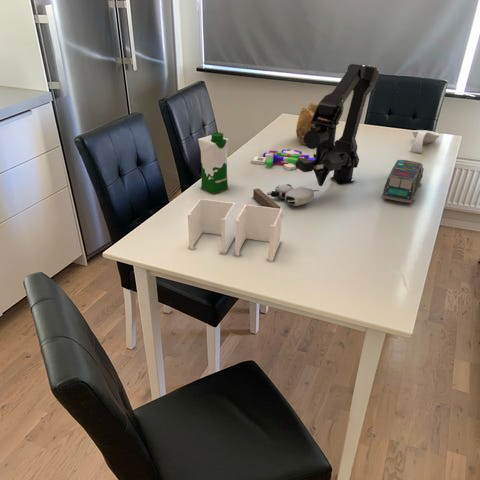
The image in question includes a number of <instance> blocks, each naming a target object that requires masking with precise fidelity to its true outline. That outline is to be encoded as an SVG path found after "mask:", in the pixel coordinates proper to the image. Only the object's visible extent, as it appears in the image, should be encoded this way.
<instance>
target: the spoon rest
mask: <svg viewBox="0 0 480 480" xmlns="http://www.w3.org/2000/svg"><path fill="white" fill-rule="evenodd" d="M412 135H413V138H414V140H413V142H412V145H411V147H410V151H409V152H411V153H417V154H421V153H422V152H423V151H422V150H423V145H424V144H426V145H427V144H431V143H433V142H435V141H437V140H438V139H439V137H440V133H438V132H437V131H432V130H427V129H426V130H424V129H416V130H413V131H412Z"/></svg>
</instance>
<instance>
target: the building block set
mask: <svg viewBox="0 0 480 480" xmlns="http://www.w3.org/2000/svg"><path fill="white" fill-rule="evenodd" d="M301 158H308V159H310V160H311V161H312V160H315V158H313V157H310V154H306V153H303V151H301V150H299V149H294V150H291V149H289V148H288V149H287V148H286V149H282V150H281V151H278V150H269V151H268V152H264V153H263V154H262V156H257V155H255V156H254V157H253V159H251V163H252V164H257V165H266V166H265V168H266V169H271V168H272V166H273V165H279V166H283V168H284V169H285V170H287V171H293V170H296V169H297V167H296V161H297V160H298V159H301Z"/></svg>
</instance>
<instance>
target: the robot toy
mask: <svg viewBox="0 0 480 480" xmlns="http://www.w3.org/2000/svg"><path fill="white" fill-rule="evenodd" d="M319 191H320V190H319V189H317V190H316V189H313V188H310V187H305V186H298V187H295V188H294V187H293V186H292V185H291V184H289V183H287V184H282V185H278V186H275V189H274V190H271V191H268V192H266V195H267V196H270V197H272V198H277V197H278V198H279V199H281V200H283V199H284V201H285V203H286V204H290V205H291V206H293V207H299V206H302V205H305V204H308V203H310V202H311V201H312V200H313V199H314V198H315V192H319Z"/></svg>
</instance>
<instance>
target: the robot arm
mask: <svg viewBox="0 0 480 480" xmlns="http://www.w3.org/2000/svg"><path fill="white" fill-rule="evenodd" d="M379 76H380V71H379V70H378V67H377V66H374V65H373V66H372V65H366V64H359V63H350V64H349V65H348V67H347V69H346V72H345V73H344V75H343V76H342V78H341V79H340V80H339V82H338V84H337V85H336V87H335V88H334V89H333V91H332V92H331V93H328V94H326V95H324V97H323V98H322V99H321V100H320V101H319V102H318V103H317V104H318V106H317V108H316V111H315V113H314V116H313V118H312V121H311V124H315V125H314V126H311V129H310V131H308V132H307V133H306V134H305V136H304V143H305V144H304V146H305V147H306V148H307V149H309V150H315V153H313V155H312V156H313V157H312V158H315V160H312V161H311V160H310V159H308V158H301V159H298V160H297V161H296V169H298V170H300V171H301V172H302V173H309V172H313V173H314V175H315V178H316V181H317V185H318V187H323V185H324V183H325V181H326V179H327V177H328V176H329V174H330V172H333V174H332V176H331V180H333V181H334V182H336V183H337V184H339V185H344V184H350V183H354V182H355V180H354V179H353V174H354V169H356V168H358V165H359V163H360V158H359V157H360V156H359V155H358V153H357V152H358V145H357V144H358V143H357V140H356V137H357V134H358V131H359V126H360V123H361V119H362V115H363V112H364V108H365V104H366V100H367V97H368V95H370V93H371V91H373V90H374V88H375V86H376V83H377V81H378V80H379ZM351 93H352V97H351V101H350V104H349V107H348V112H347V116H346V120H345V124H344V126H343V127H344V128H343V132H342V135H341V136H340V138H339V139H336V132H337V126H339V124H340V119H341V118H342V116H343V113H344V104H345V102H346V101H347V99H348V97H349V96H350V95H351ZM318 117H319V118H322V119H326V120H327V121H326V120H321V119H318Z"/></svg>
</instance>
